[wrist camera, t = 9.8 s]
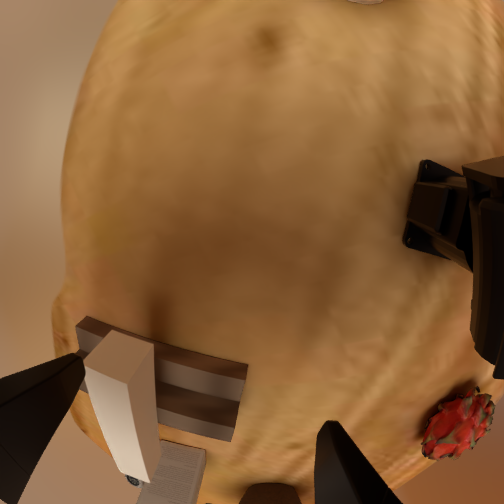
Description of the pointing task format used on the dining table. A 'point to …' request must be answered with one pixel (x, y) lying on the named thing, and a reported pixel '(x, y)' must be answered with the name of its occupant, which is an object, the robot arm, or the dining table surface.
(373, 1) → the foam cup
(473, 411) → the dragon fruit
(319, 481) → the robot arm
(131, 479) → the wristwatch
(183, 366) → the ridge block
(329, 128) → the dining table surface
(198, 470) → the skincare box
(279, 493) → the plant pot
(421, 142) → the dining table surface
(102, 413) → the light gray bar
